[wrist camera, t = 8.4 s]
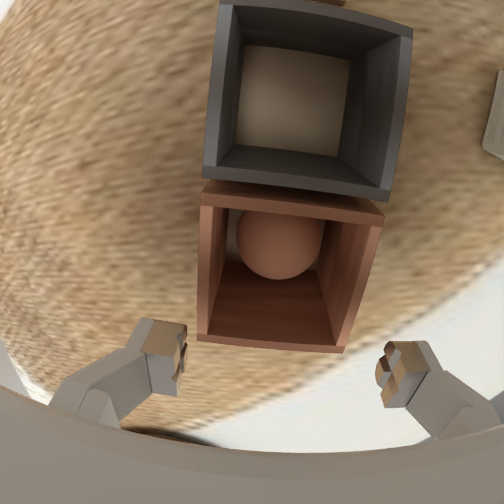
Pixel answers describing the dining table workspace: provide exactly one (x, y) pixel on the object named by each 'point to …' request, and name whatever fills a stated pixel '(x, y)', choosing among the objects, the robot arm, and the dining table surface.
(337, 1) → the ball stand
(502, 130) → the supplement box
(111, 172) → the dining table surface
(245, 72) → the stacked cubby shelf
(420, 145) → the dining table surface
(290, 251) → the ball
